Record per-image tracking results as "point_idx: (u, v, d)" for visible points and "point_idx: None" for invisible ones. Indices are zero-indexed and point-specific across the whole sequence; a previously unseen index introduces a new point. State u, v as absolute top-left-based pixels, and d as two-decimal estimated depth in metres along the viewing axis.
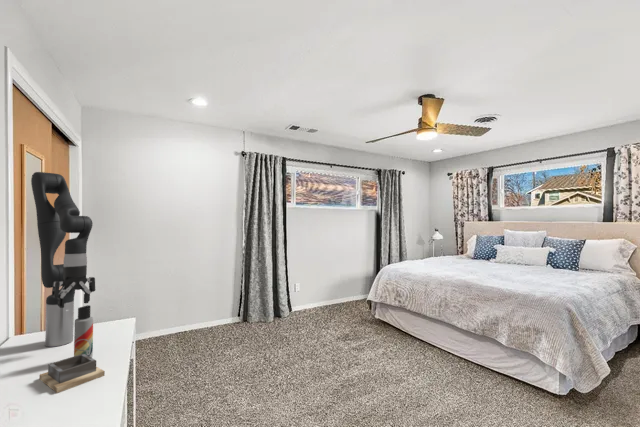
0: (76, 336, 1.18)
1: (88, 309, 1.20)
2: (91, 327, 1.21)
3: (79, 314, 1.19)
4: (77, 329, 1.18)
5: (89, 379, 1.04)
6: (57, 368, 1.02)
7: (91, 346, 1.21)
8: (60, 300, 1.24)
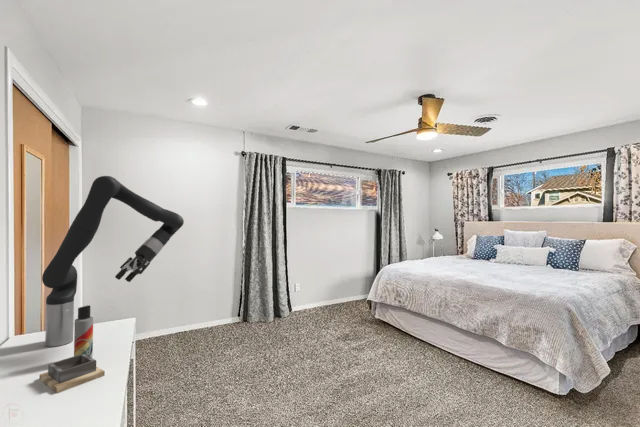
0: (76, 336, 1.18)
1: (88, 309, 1.20)
2: (91, 327, 1.21)
3: (79, 314, 1.19)
4: (77, 329, 1.18)
5: (89, 379, 1.04)
6: (57, 368, 1.02)
7: (91, 346, 1.21)
8: None
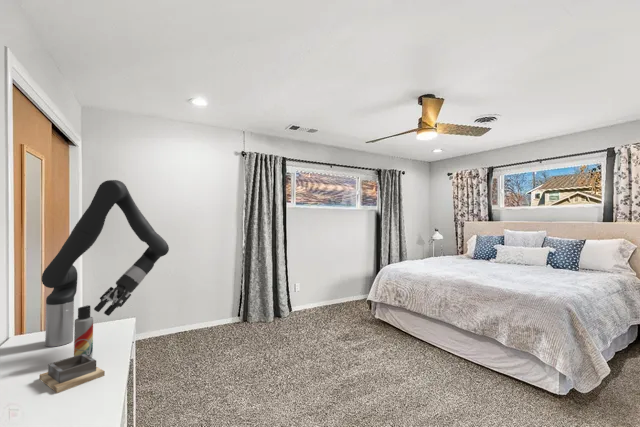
0: (76, 336, 1.18)
1: (88, 309, 1.20)
2: (91, 327, 1.21)
3: (79, 314, 1.19)
4: (77, 329, 1.18)
5: (89, 379, 1.04)
6: (57, 368, 1.02)
7: (91, 346, 1.21)
8: None
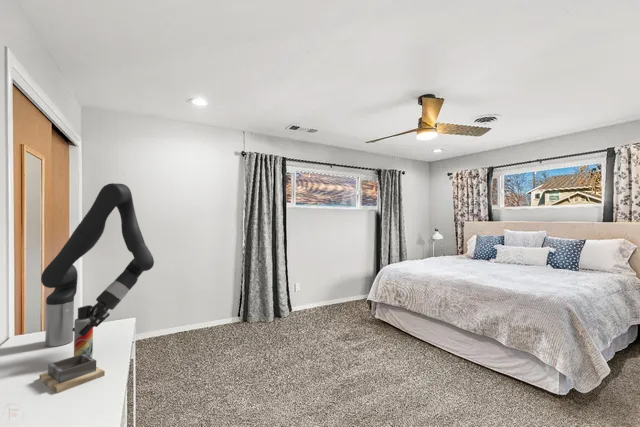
0: (76, 336, 1.18)
1: (88, 309, 1.20)
2: None
3: (79, 314, 1.19)
4: (77, 329, 1.18)
5: (89, 379, 1.04)
6: (57, 368, 1.02)
7: (91, 346, 1.21)
8: None
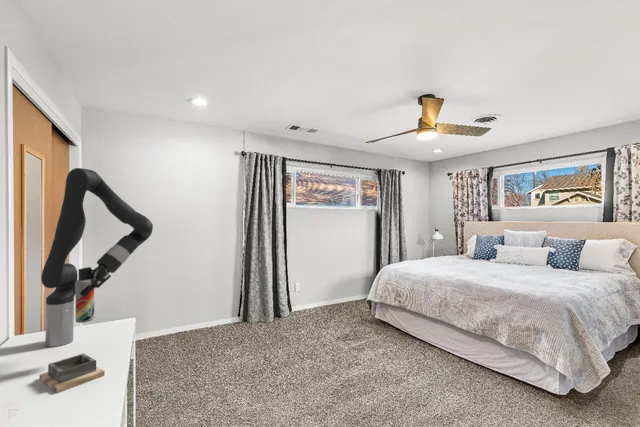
0: (77, 297, 1.17)
1: (89, 270, 1.19)
2: None
3: (80, 275, 1.18)
4: (78, 290, 1.17)
5: (89, 379, 1.04)
6: (57, 368, 1.02)
7: (93, 308, 1.20)
8: None
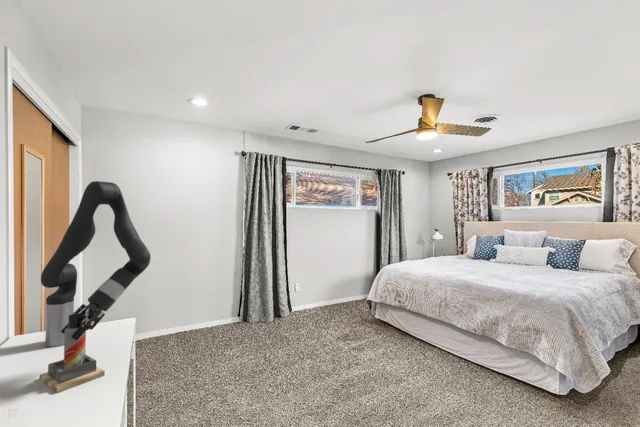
0: (66, 347, 1.04)
1: (80, 317, 1.06)
2: (83, 337, 1.07)
3: (69, 322, 1.05)
4: (67, 340, 1.04)
5: (89, 379, 1.04)
6: (57, 368, 1.02)
7: (83, 359, 1.07)
8: None
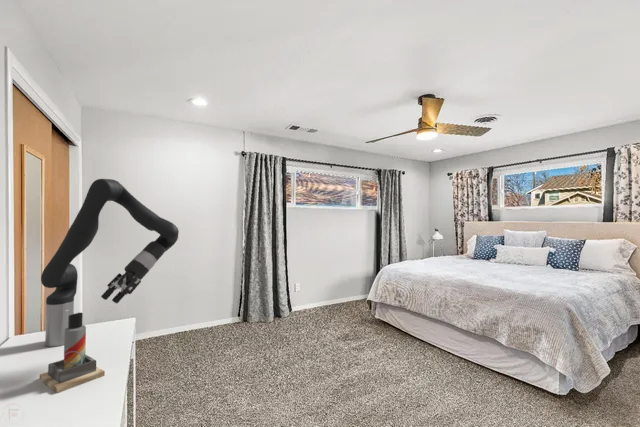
0: (66, 348, 1.04)
1: (79, 317, 1.06)
2: (83, 337, 1.07)
3: (69, 323, 1.05)
4: (67, 340, 1.04)
5: (89, 379, 1.04)
6: (57, 368, 1.02)
7: (83, 359, 1.07)
8: None
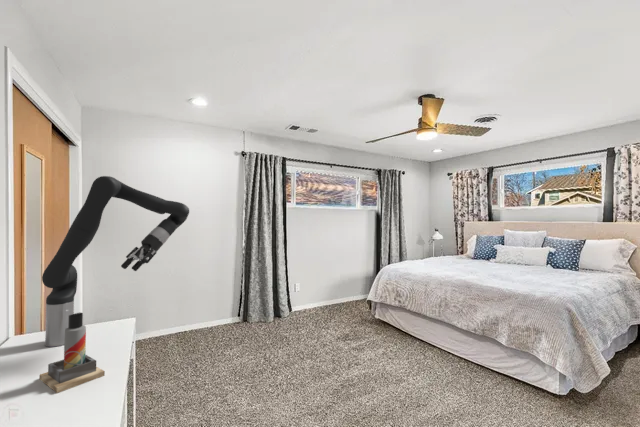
0: (66, 348, 1.04)
1: (80, 317, 1.06)
2: (83, 337, 1.07)
3: (69, 323, 1.05)
4: (67, 340, 1.04)
5: (89, 379, 1.04)
6: (57, 368, 1.02)
7: (83, 359, 1.07)
8: None
